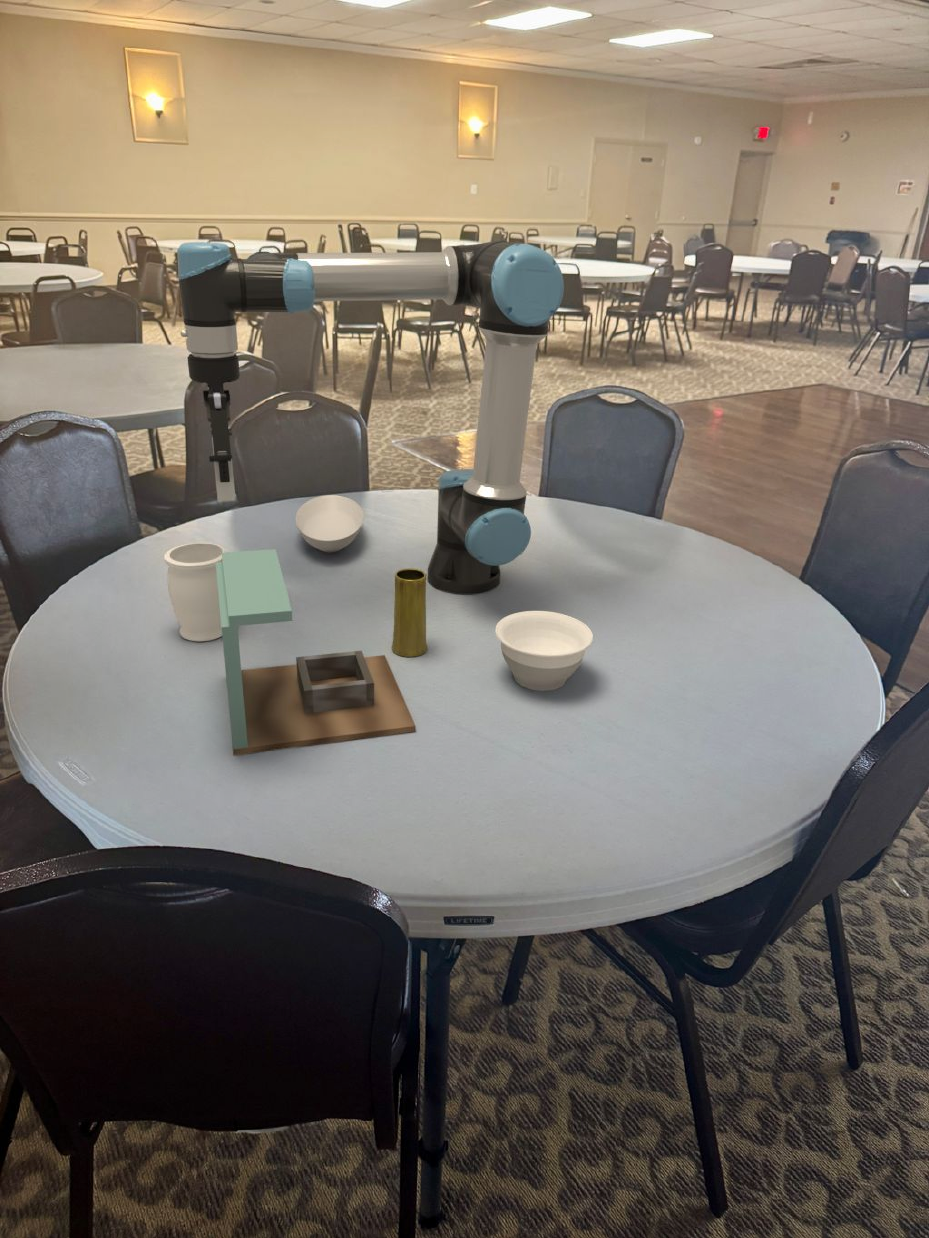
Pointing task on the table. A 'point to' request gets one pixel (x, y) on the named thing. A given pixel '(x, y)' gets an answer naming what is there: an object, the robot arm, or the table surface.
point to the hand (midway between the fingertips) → (225, 487)
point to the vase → (410, 613)
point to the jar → (195, 589)
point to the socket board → (322, 702)
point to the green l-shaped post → (247, 616)
